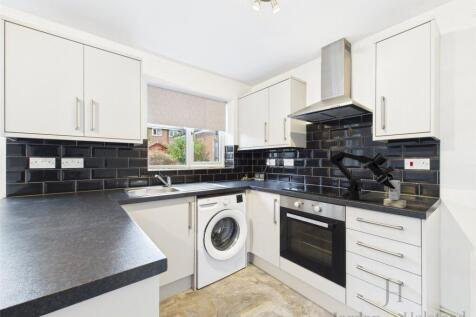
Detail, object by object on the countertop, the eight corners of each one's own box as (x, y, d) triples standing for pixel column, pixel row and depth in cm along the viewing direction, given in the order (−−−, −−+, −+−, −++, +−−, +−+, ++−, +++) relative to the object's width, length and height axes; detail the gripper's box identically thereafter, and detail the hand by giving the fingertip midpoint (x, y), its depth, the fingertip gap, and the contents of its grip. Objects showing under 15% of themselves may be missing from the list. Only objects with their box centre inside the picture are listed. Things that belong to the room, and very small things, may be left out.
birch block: (383, 205, 134) (383, 199, 134) (387, 204, 139) (387, 198, 139) (402, 208, 126) (403, 201, 126) (406, 206, 131) (406, 200, 131)
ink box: (391, 197, 138) (391, 179, 137) (400, 198, 134) (400, 180, 134) (388, 199, 132) (388, 180, 131) (398, 200, 128) (398, 181, 128)
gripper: (382, 161, 130) (404, 181, 122) (390, 161, 142) (410, 179, 134) (368, 173, 136) (388, 192, 127) (376, 172, 148) (395, 189, 140)
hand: (396, 188), depth 132 cm, fingers closed on ink box, 8 cm apart
